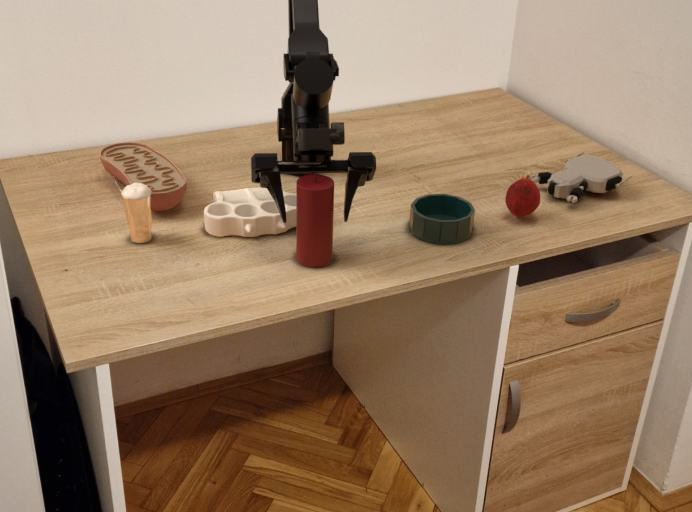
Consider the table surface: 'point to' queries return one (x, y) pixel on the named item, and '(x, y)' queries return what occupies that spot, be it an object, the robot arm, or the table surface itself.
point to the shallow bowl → (441, 218)
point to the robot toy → (581, 177)
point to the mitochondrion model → (145, 172)
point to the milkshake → (138, 211)
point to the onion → (523, 197)
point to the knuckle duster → (248, 213)
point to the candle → (314, 220)
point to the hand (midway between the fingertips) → (315, 221)
